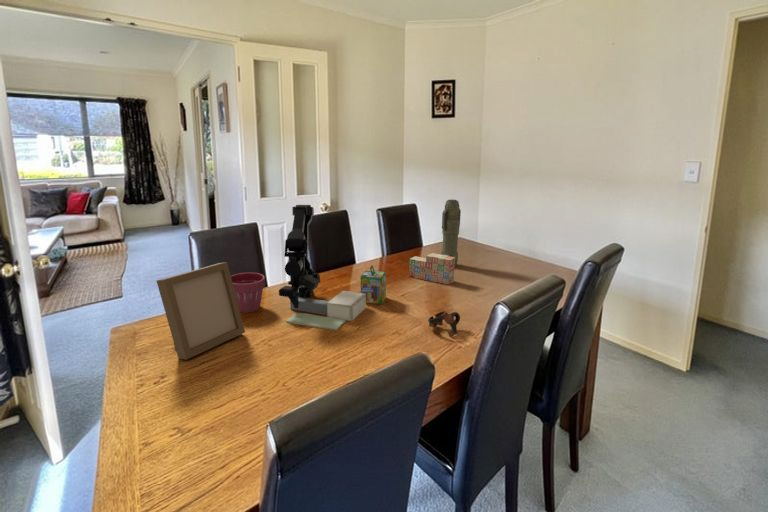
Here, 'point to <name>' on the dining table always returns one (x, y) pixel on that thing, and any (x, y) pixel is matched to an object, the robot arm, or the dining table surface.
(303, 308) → the grey blank
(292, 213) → the robot arm
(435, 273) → the stack of blocks
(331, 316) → the gray cuboid case
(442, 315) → the dark looped figurine
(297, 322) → the felt pad
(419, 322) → the dining table surface
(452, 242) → the dark grey statuette
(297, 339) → the dining table surface
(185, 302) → the photo frame
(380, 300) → the green product box
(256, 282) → the plant pot
